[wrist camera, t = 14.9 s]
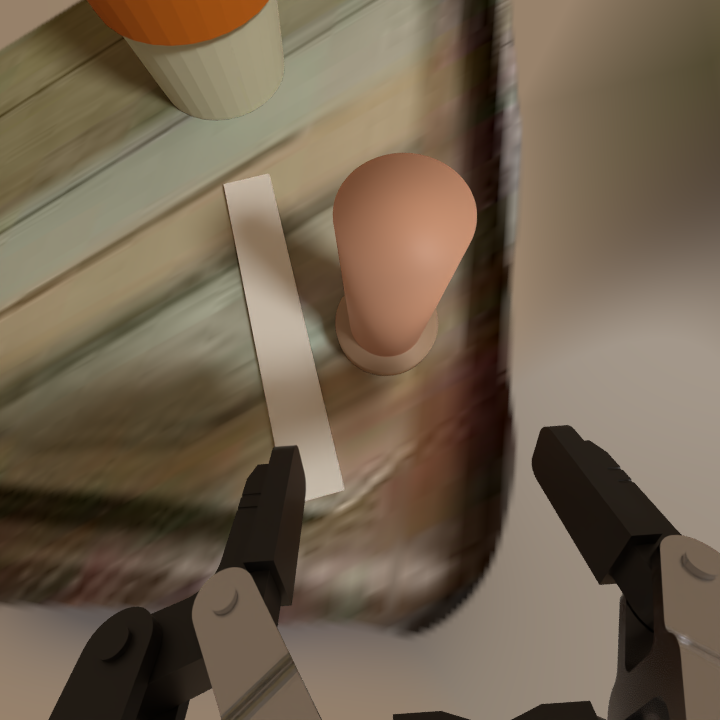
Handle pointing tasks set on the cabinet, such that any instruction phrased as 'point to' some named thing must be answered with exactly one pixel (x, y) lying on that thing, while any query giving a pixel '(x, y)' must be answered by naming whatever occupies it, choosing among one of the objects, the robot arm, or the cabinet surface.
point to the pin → (397, 256)
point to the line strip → (281, 334)
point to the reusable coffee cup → (204, 50)
